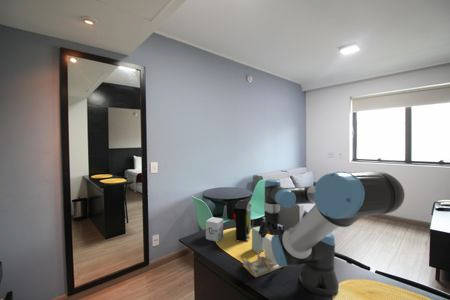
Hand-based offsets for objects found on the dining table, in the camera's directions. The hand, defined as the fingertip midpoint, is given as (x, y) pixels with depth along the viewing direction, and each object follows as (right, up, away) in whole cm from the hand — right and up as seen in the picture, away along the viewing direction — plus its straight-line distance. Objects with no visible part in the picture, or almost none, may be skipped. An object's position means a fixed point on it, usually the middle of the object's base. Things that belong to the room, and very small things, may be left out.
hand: (271, 254), depth 103 cm
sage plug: (-5, -4, +14) cm, 15 cm away
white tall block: (0, -4, 0) cm, 4 cm away
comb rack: (-4, -5, -2) cm, 6 cm away
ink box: (-30, -4, +28) cm, 41 cm away
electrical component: (-12, -4, +33) cm, 35 cm away
